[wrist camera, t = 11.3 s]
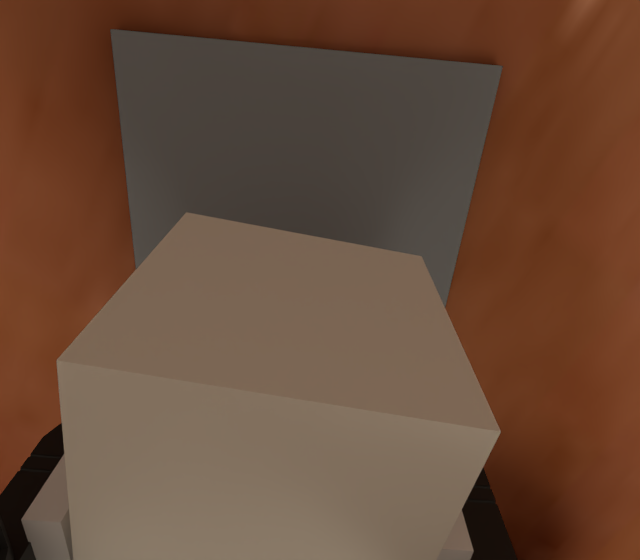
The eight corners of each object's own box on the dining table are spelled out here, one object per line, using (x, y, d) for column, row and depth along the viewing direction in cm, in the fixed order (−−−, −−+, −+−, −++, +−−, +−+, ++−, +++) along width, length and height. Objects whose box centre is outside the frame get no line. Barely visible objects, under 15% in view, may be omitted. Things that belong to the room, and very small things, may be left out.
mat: (406, 454, 26) (408, 462, 25) (158, 435, 25) (154, 444, 25) (497, 65, 17) (502, 66, 16) (117, 29, 17) (110, 29, 16)
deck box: (186, 212, 13) (56, 359, 7) (421, 256, 14) (500, 431, 7) (170, 456, 18) (83, 681, 11) (348, 482, 18) (359, 712, 12)
